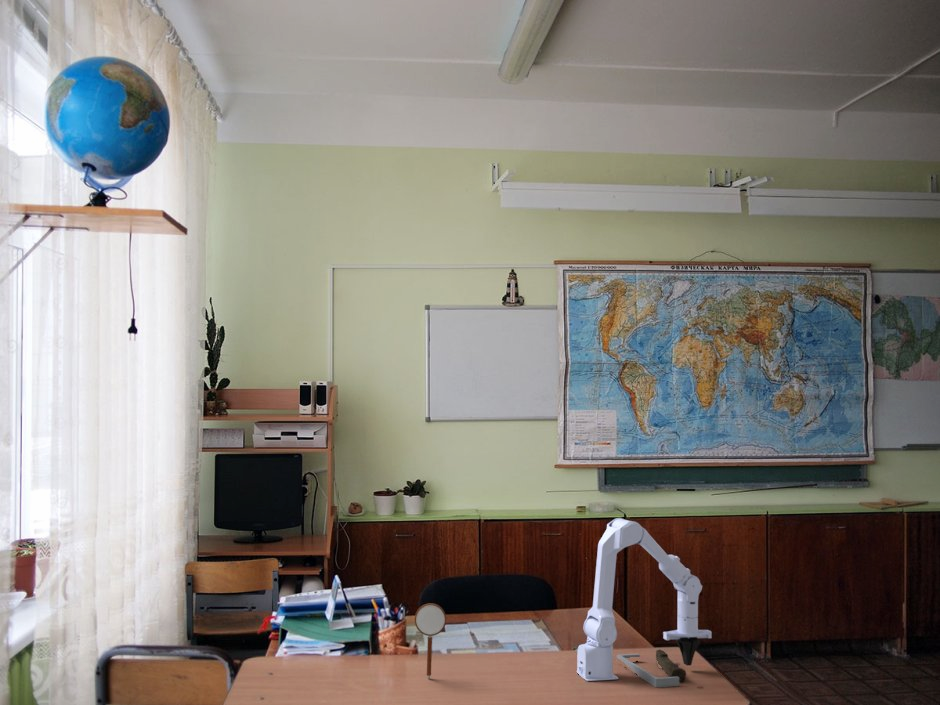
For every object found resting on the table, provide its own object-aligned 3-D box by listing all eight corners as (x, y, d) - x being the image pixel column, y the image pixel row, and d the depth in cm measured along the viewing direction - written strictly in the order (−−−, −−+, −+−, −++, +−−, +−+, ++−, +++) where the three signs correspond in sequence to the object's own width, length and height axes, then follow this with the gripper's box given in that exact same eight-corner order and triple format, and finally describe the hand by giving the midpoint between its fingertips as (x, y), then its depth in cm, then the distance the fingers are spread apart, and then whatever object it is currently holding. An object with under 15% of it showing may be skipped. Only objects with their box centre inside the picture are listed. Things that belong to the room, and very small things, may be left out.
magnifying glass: (444, 678, 224) (446, 603, 226) (444, 680, 223) (446, 604, 225) (413, 677, 225) (415, 602, 226) (412, 679, 223) (414, 603, 225)
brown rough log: (686, 683, 226) (686, 666, 227) (672, 683, 226) (672, 666, 226) (666, 664, 245) (666, 648, 245) (653, 663, 245) (653, 647, 245)
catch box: (655, 687, 221) (655, 678, 221) (616, 662, 244) (616, 654, 244) (679, 685, 223) (679, 677, 223) (637, 661, 246) (638, 653, 246)
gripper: (702, 612, 244) (702, 659, 243) (658, 613, 240) (658, 661, 239) (715, 617, 238) (715, 666, 236) (670, 619, 234) (670, 668, 232)
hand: (687, 664), depth 237 cm, fingers closed
